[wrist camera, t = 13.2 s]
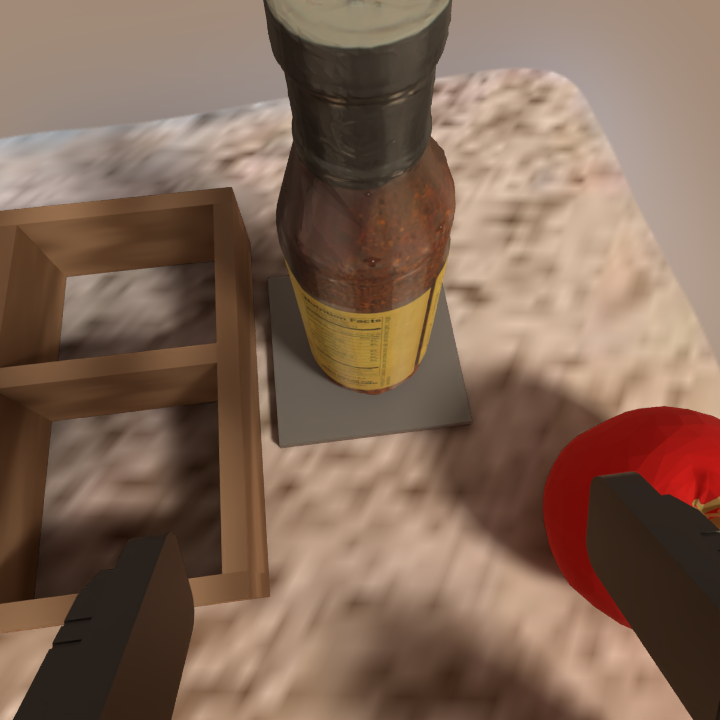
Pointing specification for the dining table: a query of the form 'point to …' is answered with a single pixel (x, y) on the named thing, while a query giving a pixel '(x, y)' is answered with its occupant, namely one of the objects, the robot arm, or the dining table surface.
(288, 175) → the sauce bottle
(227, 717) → the dining table surface
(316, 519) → the dining table surface
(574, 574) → the fruit
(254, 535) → the caddy
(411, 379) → the coaster
